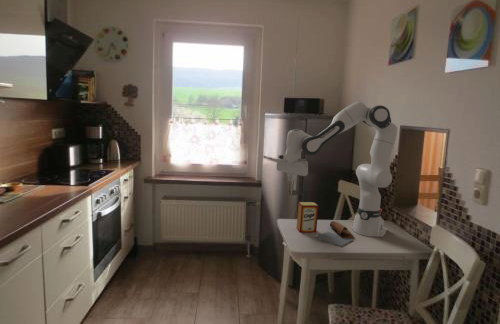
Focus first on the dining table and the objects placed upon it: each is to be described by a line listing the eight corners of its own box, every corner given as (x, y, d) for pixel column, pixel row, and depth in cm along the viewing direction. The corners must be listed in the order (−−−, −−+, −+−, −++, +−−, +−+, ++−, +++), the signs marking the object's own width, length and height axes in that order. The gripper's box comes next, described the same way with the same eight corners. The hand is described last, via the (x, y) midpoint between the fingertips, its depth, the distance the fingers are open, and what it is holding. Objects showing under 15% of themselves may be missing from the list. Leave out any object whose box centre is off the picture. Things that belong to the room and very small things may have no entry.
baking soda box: (299, 232, 185) (302, 204, 183) (296, 228, 192) (298, 201, 189) (316, 232, 187) (318, 205, 184) (312, 228, 193) (314, 201, 191)
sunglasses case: (355, 237, 180) (350, 226, 179) (344, 243, 180) (339, 232, 179) (343, 226, 198) (338, 217, 197) (332, 232, 198) (328, 222, 197)
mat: (327, 232, 188) (327, 231, 188) (353, 240, 178) (353, 239, 178) (314, 237, 178) (314, 236, 178) (341, 247, 168) (341, 245, 168)
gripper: (311, 159, 187) (309, 183, 189) (282, 154, 201) (280, 177, 203) (305, 160, 183) (302, 184, 185) (275, 155, 196) (274, 178, 198)
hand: (291, 180), depth 194 cm, fingers closed
